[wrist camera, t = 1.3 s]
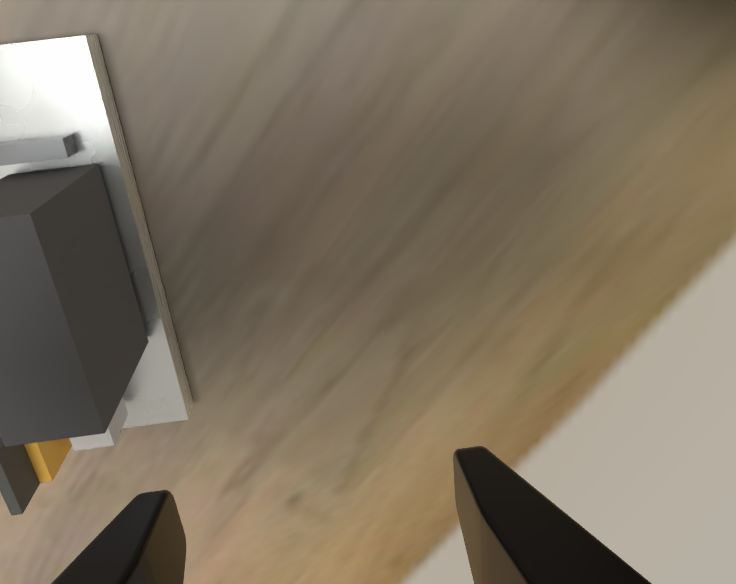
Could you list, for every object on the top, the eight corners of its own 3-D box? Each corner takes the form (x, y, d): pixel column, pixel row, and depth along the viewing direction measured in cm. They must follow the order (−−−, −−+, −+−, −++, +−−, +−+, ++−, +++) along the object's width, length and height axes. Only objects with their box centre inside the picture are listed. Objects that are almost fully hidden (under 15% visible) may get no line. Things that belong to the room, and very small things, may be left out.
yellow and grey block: (61, 378, 19) (10, 453, 16) (80, 430, 20) (35, 512, 17) (28, 382, 19) (-29, 458, 16) (48, 434, 20) (-2, 517, 17)
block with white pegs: (97, 163, 17) (29, 213, 13) (166, 405, 20) (130, 507, 16) (-123, 189, 17) (-267, 248, 12) (-17, 430, 20) (-102, 540, 16)
